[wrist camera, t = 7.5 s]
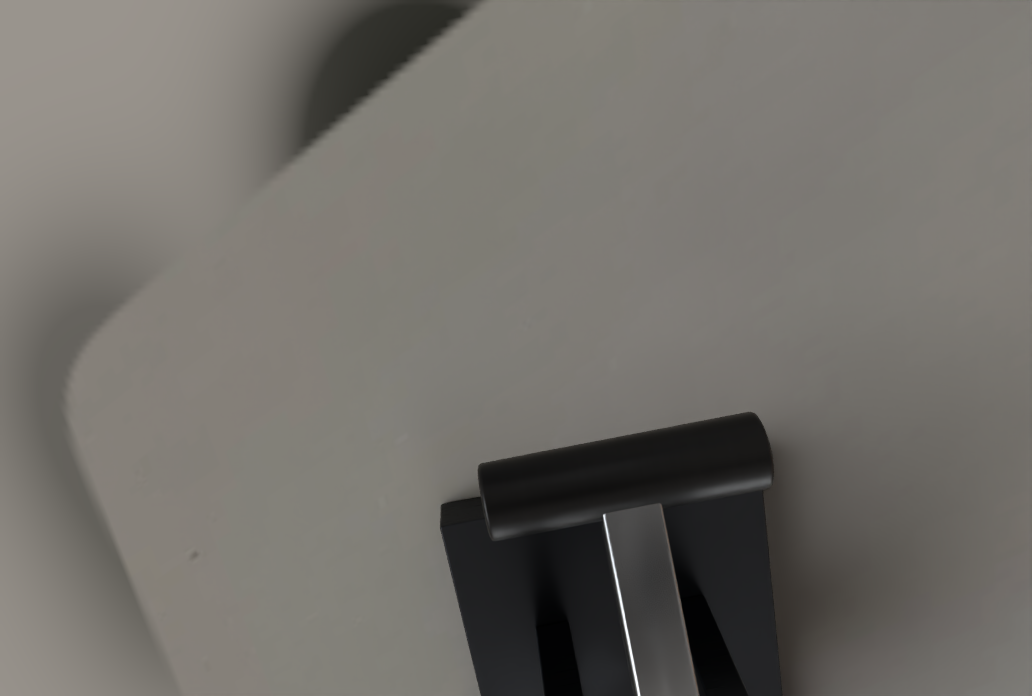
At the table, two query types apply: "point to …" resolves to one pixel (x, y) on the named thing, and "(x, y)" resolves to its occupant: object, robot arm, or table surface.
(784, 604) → the table surface
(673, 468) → the lever
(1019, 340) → the table surface
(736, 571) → the bracket
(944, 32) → the table surface
